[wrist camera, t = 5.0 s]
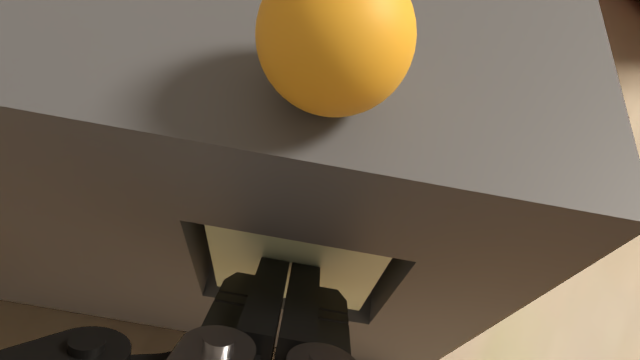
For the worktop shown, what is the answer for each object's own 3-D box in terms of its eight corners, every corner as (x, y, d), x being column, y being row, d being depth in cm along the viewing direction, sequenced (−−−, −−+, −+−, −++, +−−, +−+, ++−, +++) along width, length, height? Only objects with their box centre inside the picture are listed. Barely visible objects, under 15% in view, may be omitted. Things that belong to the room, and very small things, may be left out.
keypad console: (419, 371, 19) (802, 133, 6) (-153, 273, 18) (-1207, -240, 5) (424, 194, 23) (649, -178, 10) (-40, 111, 22) (-457, -398, 9)
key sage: (358, 310, 14) (393, 255, 11) (217, 286, 14) (204, 221, 10) (370, 193, 16) (402, 115, 13) (247, 171, 16) (244, 86, 13)
